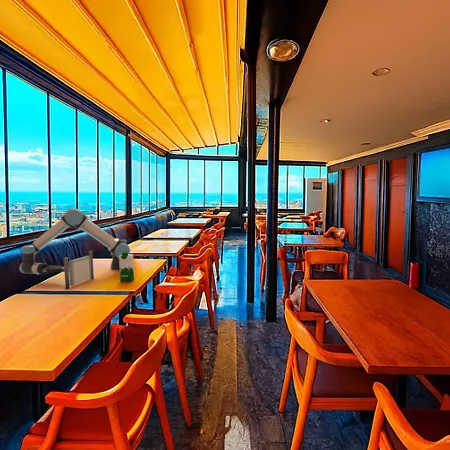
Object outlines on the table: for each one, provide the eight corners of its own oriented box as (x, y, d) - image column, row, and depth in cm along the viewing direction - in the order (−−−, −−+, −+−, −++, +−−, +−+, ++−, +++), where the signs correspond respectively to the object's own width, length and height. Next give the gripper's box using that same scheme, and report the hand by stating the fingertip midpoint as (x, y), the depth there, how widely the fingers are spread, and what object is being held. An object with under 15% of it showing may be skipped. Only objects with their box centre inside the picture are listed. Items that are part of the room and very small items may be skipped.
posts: (91, 278, 241) (90, 250, 239) (94, 278, 240) (93, 250, 238) (64, 289, 214) (62, 258, 212) (67, 289, 213) (66, 258, 212)
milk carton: (118, 282, 228) (117, 253, 227) (123, 279, 237) (122, 251, 236) (131, 282, 228) (129, 253, 226) (135, 279, 237) (134, 251, 235)
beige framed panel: (88, 278, 237) (87, 255, 236) (91, 278, 237) (90, 255, 235) (70, 285, 219) (68, 261, 217) (72, 285, 218) (71, 261, 217)
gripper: (48, 271, 241) (76, 273, 235) (33, 276, 228) (63, 277, 222) (47, 261, 240) (76, 262, 234) (33, 265, 227) (63, 266, 222)
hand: (70, 269), depth 228 cm, fingers closed
